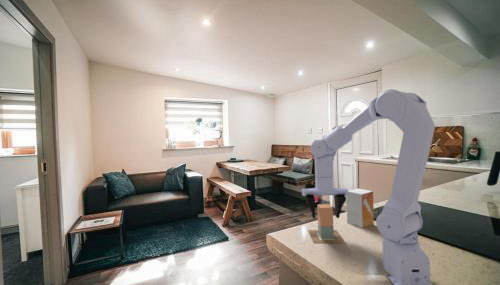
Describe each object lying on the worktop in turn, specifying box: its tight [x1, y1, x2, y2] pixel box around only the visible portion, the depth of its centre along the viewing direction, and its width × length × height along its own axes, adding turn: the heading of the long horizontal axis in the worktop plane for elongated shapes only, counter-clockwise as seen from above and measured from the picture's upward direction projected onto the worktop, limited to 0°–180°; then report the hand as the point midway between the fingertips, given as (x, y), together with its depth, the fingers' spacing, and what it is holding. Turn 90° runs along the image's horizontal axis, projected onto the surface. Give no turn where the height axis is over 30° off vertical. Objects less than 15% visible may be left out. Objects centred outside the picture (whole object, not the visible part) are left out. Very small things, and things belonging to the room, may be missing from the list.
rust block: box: [316, 203, 334, 228], centre depth 71 cm, size 4×4×6 cm
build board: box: [307, 229, 347, 245], centre depth 71 cm, size 10×10×1 cm
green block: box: [317, 222, 334, 239], centre depth 71 cm, size 4×4×4 cm
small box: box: [345, 188, 375, 229], centre depth 82 cm, size 8×6×13 cm
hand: (325, 217), depth 71 cm, fingers open, 7 cm apart
